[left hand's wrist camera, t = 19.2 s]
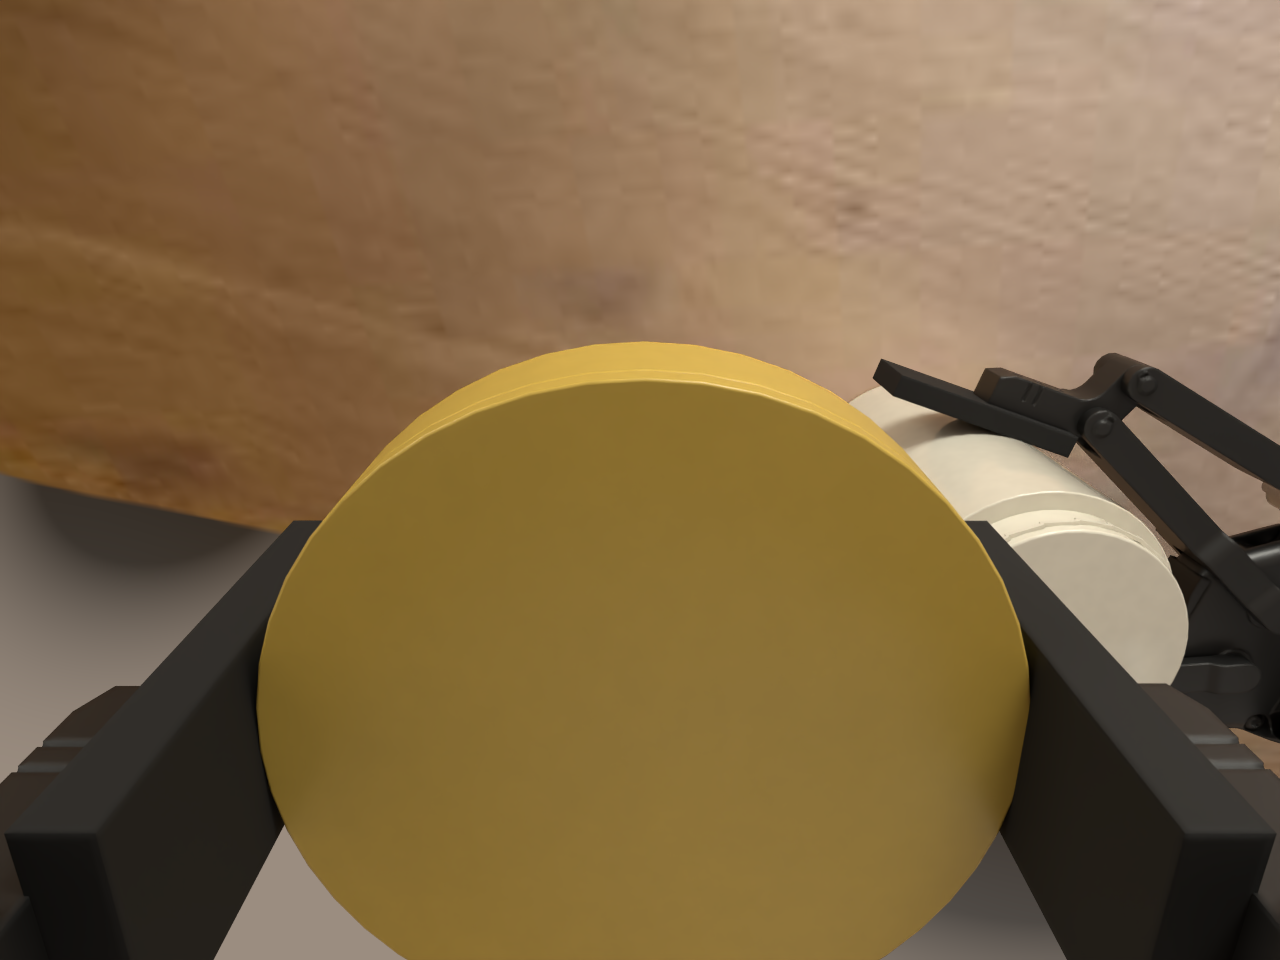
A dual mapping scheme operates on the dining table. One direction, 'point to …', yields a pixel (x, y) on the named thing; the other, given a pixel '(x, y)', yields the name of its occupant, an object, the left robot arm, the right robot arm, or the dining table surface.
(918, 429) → the jar
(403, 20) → the dining table surface
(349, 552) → the lid
